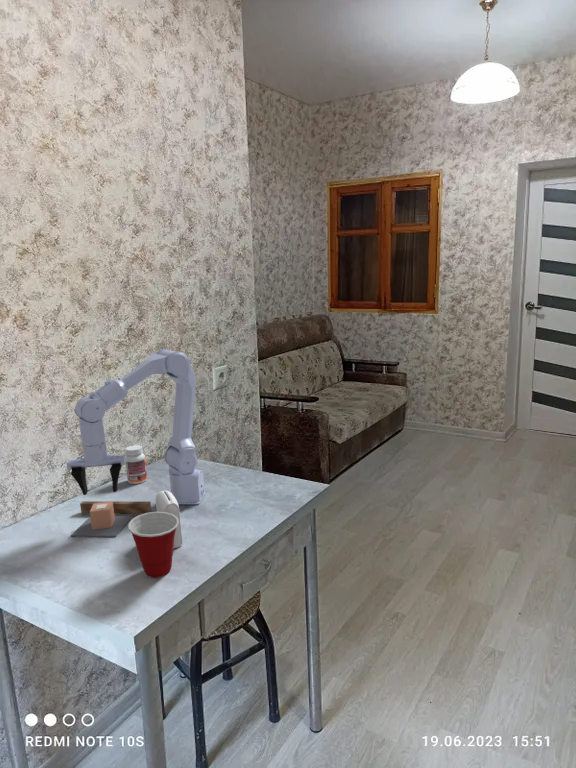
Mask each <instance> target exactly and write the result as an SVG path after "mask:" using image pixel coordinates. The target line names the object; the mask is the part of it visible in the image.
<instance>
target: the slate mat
mask: <svg viewBox="0 0 576 768" xmlns="http://www.w3.org/2000/svg"><path fill="white" fill-rule="evenodd" d="M114 516H115V520H114V523H113V525H112V527H110V528H101V529H92V526H91V519H90V516H89V517H88V518H87V519H86V520H85V521H84V522H83V523H82V524H81V525H80V526H79V527H77V529H76V530H75V531H73V532H72V533H71V534H70V537H71V538H72V537H73V538H75V537H76V538H78V537H80V538H81V537H83V538H89V537H90V538H116V537H117V536H118V535H119V534H120V532H121V531H122V530H124V528H125V527H126V526H127V525H128V524H129V522H130V521H131V520H132V519H133V518H134V516H135V514H114Z"/></svg>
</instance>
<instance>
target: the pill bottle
mask: <svg viewBox="0 0 576 768" xmlns="http://www.w3.org/2000/svg"><path fill="white" fill-rule="evenodd" d="M125 458H126V463H125V469H126V478H127V483H129V484H131V485H137V484H138V485H139V484H143V483H145V482H146V481H147V480H148V472H147V461H146V456H145V453H144V451H143V446H142V445H138V444H134V445H129V446H127V447H125Z"/></svg>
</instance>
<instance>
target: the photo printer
mask: <svg viewBox="0 0 576 768" xmlns="http://www.w3.org/2000/svg"><path fill="white" fill-rule="evenodd" d="M155 505H156V512H167V513H170V514H173V515H175V516H176V517H177V518H178V520H179V524H178V526H177V527H176V531H175V536H174V547H173V549H177V548H180V547H181V546H182V545H183V533H182V524H181V515H180V514H181V513H180V508H179V507H180V504H178V502H177V500H176V499H175V497H174V496H173V494H172V493H171V491H169V490H166V489H165V490H160V491H159V492H157V493H156V495H155Z"/></svg>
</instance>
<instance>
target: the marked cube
mask: <svg viewBox="0 0 576 768" xmlns="http://www.w3.org/2000/svg"><path fill="white" fill-rule="evenodd" d="M89 517H90V519H91V526H92V529H101V528H110V527H112V525H113V523H114V520H115V516H114V508H113V502H106V503H97V504H93V506H92V508H91V510H90V514H89Z"/></svg>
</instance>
